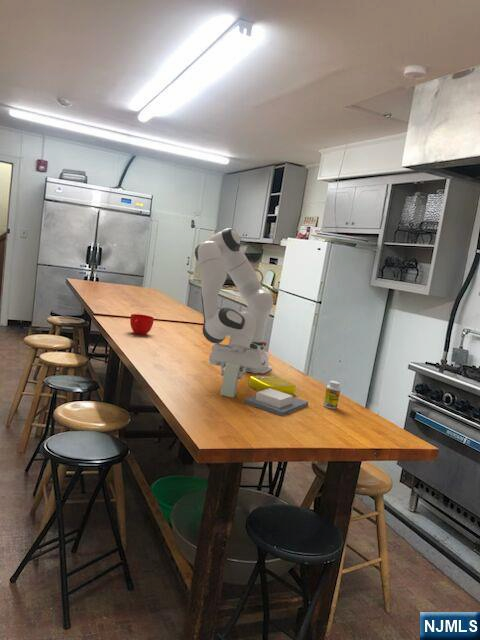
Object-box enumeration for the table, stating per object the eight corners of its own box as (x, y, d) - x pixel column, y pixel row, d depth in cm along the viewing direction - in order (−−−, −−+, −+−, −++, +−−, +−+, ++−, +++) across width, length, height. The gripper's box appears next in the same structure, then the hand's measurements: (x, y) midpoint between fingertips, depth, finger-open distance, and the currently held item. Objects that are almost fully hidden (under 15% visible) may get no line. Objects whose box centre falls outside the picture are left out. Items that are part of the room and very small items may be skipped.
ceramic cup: (121, 333, 272) (124, 315, 271) (133, 330, 289) (135, 313, 288) (144, 338, 270) (146, 320, 269) (154, 334, 287) (157, 317, 286)
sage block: (222, 391, 193) (227, 361, 191) (235, 394, 192) (240, 364, 190) (220, 394, 188) (225, 364, 186) (233, 397, 187) (238, 366, 185)
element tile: (268, 396, 198) (270, 385, 197) (246, 385, 210) (248, 374, 209) (296, 396, 206) (298, 384, 206) (274, 385, 218) (276, 374, 218)
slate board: (272, 393, 201) (274, 383, 201) (307, 405, 193) (309, 394, 192) (243, 402, 183) (245, 390, 182) (281, 416, 174) (284, 403, 174)
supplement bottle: (326, 408, 193) (331, 383, 192) (320, 403, 199) (325, 379, 197) (339, 409, 195) (344, 384, 193) (333, 405, 200) (338, 380, 199)
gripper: (213, 337, 196) (203, 366, 187) (264, 347, 193) (257, 377, 184) (213, 347, 200) (204, 375, 192) (263, 356, 198) (256, 386, 189)
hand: (230, 376), depth 188 cm, fingers closed on sage block, 5 cm apart
